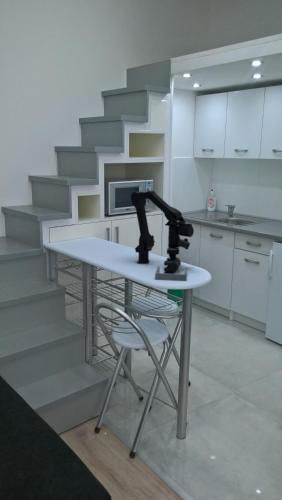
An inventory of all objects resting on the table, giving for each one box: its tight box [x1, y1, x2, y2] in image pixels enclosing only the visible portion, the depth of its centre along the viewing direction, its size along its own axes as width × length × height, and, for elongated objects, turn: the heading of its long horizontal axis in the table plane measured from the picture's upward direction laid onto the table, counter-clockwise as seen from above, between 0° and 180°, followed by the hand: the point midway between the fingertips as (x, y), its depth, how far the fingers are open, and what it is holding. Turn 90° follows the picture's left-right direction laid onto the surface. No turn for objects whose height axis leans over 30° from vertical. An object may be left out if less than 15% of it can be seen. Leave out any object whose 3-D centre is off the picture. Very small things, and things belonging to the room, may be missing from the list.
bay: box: [154, 266, 188, 282], centre depth 213 cm, size 14×15×3 cm
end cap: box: [163, 256, 182, 274], centre depth 220 cm, size 10×7×7 cm
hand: (173, 263), depth 227 cm, fingers closed
